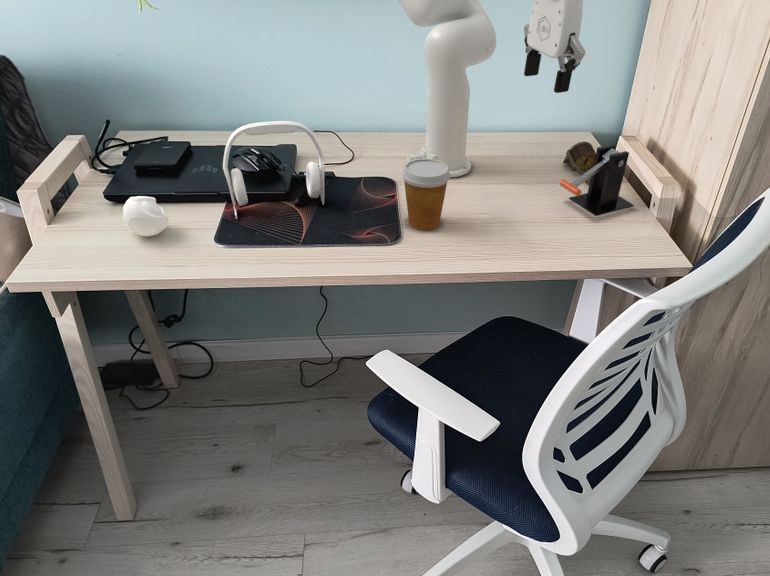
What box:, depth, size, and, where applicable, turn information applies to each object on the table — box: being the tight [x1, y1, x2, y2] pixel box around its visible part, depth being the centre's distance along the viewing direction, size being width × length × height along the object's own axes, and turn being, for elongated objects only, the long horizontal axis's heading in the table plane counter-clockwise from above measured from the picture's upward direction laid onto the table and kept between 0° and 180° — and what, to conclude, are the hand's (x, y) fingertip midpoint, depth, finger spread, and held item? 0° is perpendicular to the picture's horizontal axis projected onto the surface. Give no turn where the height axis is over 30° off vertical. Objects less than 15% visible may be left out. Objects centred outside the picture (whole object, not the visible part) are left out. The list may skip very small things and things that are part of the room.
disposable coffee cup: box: [401, 159, 451, 231], centre depth 128 cm, size 10×10×12 cm
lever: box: [558, 148, 620, 196], centre depth 133 cm, size 13×6×2 cm, turn 120°
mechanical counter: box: [562, 141, 596, 186], centre depth 150 cm, size 7×13×10 cm
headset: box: [222, 120, 325, 220], centre depth 128 cm, size 20×7×18 cm, turn 109°
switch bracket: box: [568, 143, 635, 217], centre depth 137 cm, size 11×9×13 cm
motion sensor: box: [122, 195, 169, 237], centre depth 121 cm, size 8×8×8 cm
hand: (545, 83), depth 126 cm, fingers open, 9 cm apart
